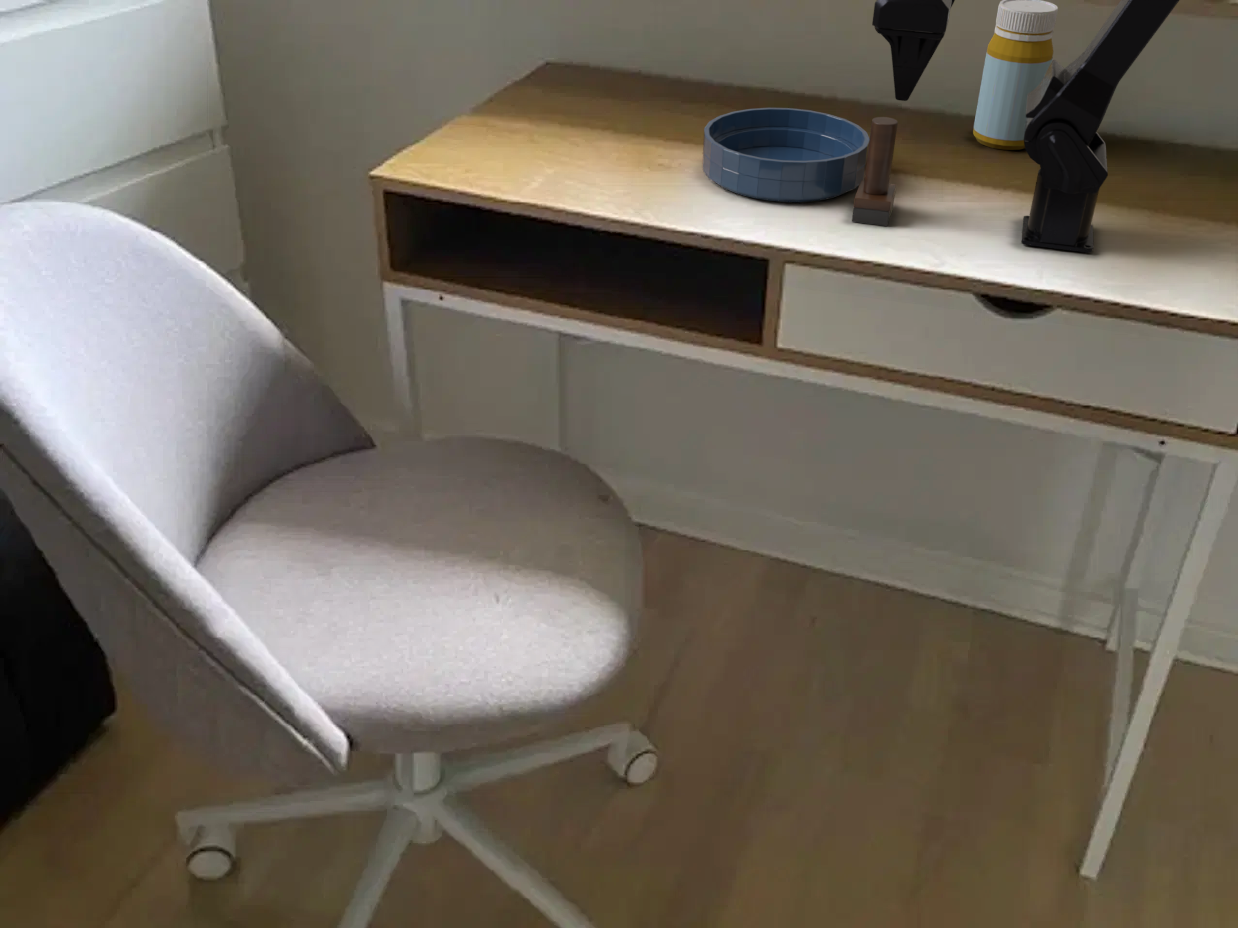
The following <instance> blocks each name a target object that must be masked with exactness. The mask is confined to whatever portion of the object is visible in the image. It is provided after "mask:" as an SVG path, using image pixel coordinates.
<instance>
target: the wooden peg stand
mask: <svg viewBox="0 0 1238 928" xmlns="http://www.w3.org/2000/svg"><path fill="white" fill-rule="evenodd" d="M898 124H899V123H898V120H897V119H895V118H893V117H889V116H876V117H874V118H872V120H871V124H870V125H871V126H870V132H869V139H870V141H869V149H868V157H867V165H866V172H865V177H864V180H863V181H862V180H861V182H860V184H859V186H857V190H856V193H855V196H854V199H853V207H852V214H851V222H852V223H859V224H866V225H873V226H883V227H888V226H889V222H890V220H891V219H890V218H891V216H892V211H893V209H894V202H895V197H896V196H895V195H896V188H897V184H896V183H890V180H891V174H892V166H893V158H894V152H895V145H896V137H897V130H898Z"/></svg>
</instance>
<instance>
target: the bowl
mask: <svg viewBox="0 0 1238 928" xmlns="http://www.w3.org/2000/svg"><path fill="white" fill-rule="evenodd" d="M869 141H870V135H869V134H868V132H867V131H866V130H865V129H864V128H862V127H861V126H860V125H858V124H856V123H855V122H853V121H851V120H848V119H847V118H844V117H839V116H836V115H833V114H829V113H825V112H821V111H814V110H810V109H802V108H801V109H800V108H792V107H789V108H788V107H759V108H748V109H741V110H735V111H731V112H728V113H724V114H721V115H718V116H717V117H715V118H713V119H711V120H709V121H708V122H707V124H706V126H705V127H704V128H703V143H702V161H701V164H702V171H703V173H704V174H705V176H706V177H707V178H708V180H711V181H712V182H713V183H715V184H717V185H719V186H720V187H721V188H723V189H725V190H727V191H729V192H732V193H734V194H737V195H740V196H744V197H747V198H751V199H756V200H760V201H761V200H762V201H767V202H778V203H810V202H820V201H825V200H830V199H835V198H836V197H840V196H842V195H844V194H846V193H848V192H850V191H853V190H855V189H857V188H858V187H859V184H860V182H861V180H862V181H864V180H865V172H866V165H867V157H868V149H869Z"/></svg>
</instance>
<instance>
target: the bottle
mask: <svg viewBox="0 0 1238 928" xmlns="http://www.w3.org/2000/svg"><path fill="white" fill-rule="evenodd" d="M1058 12H1059V6H1058V5H1056V4H1054V3H1053V2H1050V1H1047V0H1000V1H999V4H998V8H997V13H996V19H995V27H994V33H993V36H992V37H991V39H990V41H989V43H988V44H987V47H986V54H985V59H984V63H983V69H982V77H981V83H980V88H979V93H978V98H977V99H978V100H977V104H976V105H977V106H976V112H975V118H974V122H973V130H972V134H973V136H974V138H975V139H976V141H977V143H979V144H981V145H983V146H985V147H988V148H992V149H996V150H1003V151H1018V150H1025V145H1024V129H1025V117H1026V105H1027V94H1028V93H1030V92H1031V91H1033V90H1034V89H1035V88H1036V87H1037V86H1038V85H1039V84H1040V83H1041V81H1042V80H1043V78H1044V76H1045V74H1046V72H1047V70H1048V68H1049V66H1050V64H1051V62H1052V61H1053V56H1054V46H1053V35H1054V29H1055V27H1056V22H1057V17H1058Z"/></svg>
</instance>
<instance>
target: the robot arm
mask: <svg viewBox="0 0 1238 928" xmlns="http://www.w3.org/2000/svg"><path fill="white" fill-rule="evenodd" d="M955 1H956V0H875V2H874V6H873V13H872V23H871V24H872V26H873V27H874V30H875V31H876V33H877V34H879V35H881V37H883V38H884V39H885V41H886V42H888V44H889V46H890V54H891V64H892V65H891V66H892V74H893V75H892V76H893V85H894V98H895V100H897V101H901V102H906V101H908V100H909V99H910V97H911V95H912V94H913V92H914V90H915V88H916V86H917V84H918V83H919V80H920V79H921V77H922V76H923V74H924V72H925V70H926V68H927V66H928V65H929V63H930V61H931V60H932V58H933V56H934V54H935V52H936V50H937V48H938V47H939V45H940V44H941V41H942V40H943V39H944V37H945V34H946V32H947V28H948V25H949V19H950V14H951V9H952V7H953V5H954V3H955ZM1179 2H1180V0H1120V1H1119V2H1118V4H1117V5H1116V6H1115V8H1114V9H1113V11H1112V12H1111V13H1110V15H1109V16H1108V17H1107V18H1106V20H1105V22H1104V23H1103V25H1102V26H1101V27H1100V28H1099V30H1098V31H1097V33H1096V35H1095V36H1094V37H1093V39H1092V40H1091V41H1090V43H1089V44H1088V46H1087V47H1086V48H1085V50H1084V51H1083V52H1082V53H1081V54H1080V55H1078V57H1077V58H1075V59H1074V60H1072V62H1070V63H1069V64H1068V65H1067V66H1066V67H1064V66H1063V65H1062V64H1061V63H1060V62H1058V61H1057V60H1056V59H1052V62H1051V64H1050V66H1049V68H1048V70H1047V72H1046V74H1045V76H1044V78H1043V80H1042V81H1041V83H1040V84H1039V85H1038V86H1037V87H1036V88H1035V89H1034V90H1033V91H1031V92H1030V93H1028V94H1027V105H1026V117H1025V129H1024V145H1025V148H1024V150H1025V151H1026V153H1027V155H1028V156H1029V158H1030V159H1031V160H1032V161H1033V162H1034V163H1036V164H1037V165H1038V166H1039V167H1040V168H1039V169H1038V172H1037V177H1036V182H1035V186H1034V191H1033V195H1032V201H1031V206H1030V210H1029V215H1024V216H1023V217H1022V225H1021V236H1020V237H1021V238H1020V244H1022V245H1024V246H1031V247H1039V248H1047V249H1055V250H1064V251H1071V252H1079V253H1088V254H1089V253H1093V252H1094V227H1093V224H1092V223H1093V220H1094V219H1093V218H1094V214H1095V209H1096V205H1097V201H1098V197H1099V194H1100V193H1099V192H1100V189H1101V187H1102V186H1103V184H1104V183H1105V181H1106V179H1107V178H1108V176H1109V171H1108V170H1109V169H1108V159H1107V146H1106V142H1105V141H1104V140H1103V138H1102V137H1101V135H1100V134H1099V133H1098V130H1099V128H1100V126H1101V124H1102V122H1103V120H1104V117H1105V115H1106V113H1107V111H1108V108H1109V105H1110V103H1111V101H1112V99H1113V96H1114V93H1115V92H1116V90H1117V87H1118V85H1119V83H1120V82H1121V80H1122V79H1123V77H1124V76H1125V75H1126V74H1127V72H1128V71H1129V70H1130V68H1131V66H1132V65H1133V64H1134V62H1135V61H1136V60H1137V59H1138V57H1139V56H1140V55H1141V54H1142V52H1143V51H1144V49H1145V48H1146V47H1147V45H1148V44H1149V42H1150V41H1151V39H1152V38H1153V37H1154V36H1155V34H1156V33H1157V32H1158V30H1159V29H1160V28H1161V26H1162V25H1163V23H1164V22H1165V21H1166V19H1168V17H1169V15H1170V14H1171V13H1172V11H1173V10H1174V8H1175V7H1177V5H1178V3H1179Z"/></svg>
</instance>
